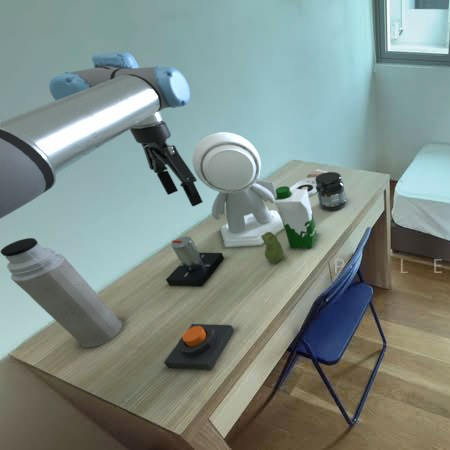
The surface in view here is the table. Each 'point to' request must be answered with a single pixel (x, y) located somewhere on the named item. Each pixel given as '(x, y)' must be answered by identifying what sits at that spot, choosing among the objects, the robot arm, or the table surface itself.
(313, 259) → the table surface
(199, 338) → the power button
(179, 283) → the timer panel
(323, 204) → the supplement container
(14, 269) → the thermos bottle
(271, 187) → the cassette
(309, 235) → the milk carton
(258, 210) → the white cartoon figure
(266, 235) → the pear
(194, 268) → the timer knob
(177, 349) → the black button base
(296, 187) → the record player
